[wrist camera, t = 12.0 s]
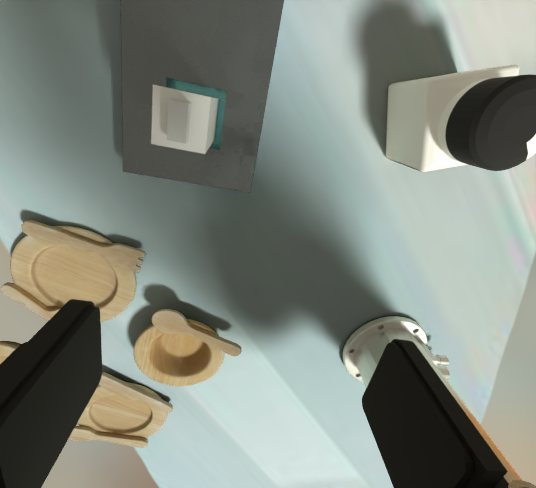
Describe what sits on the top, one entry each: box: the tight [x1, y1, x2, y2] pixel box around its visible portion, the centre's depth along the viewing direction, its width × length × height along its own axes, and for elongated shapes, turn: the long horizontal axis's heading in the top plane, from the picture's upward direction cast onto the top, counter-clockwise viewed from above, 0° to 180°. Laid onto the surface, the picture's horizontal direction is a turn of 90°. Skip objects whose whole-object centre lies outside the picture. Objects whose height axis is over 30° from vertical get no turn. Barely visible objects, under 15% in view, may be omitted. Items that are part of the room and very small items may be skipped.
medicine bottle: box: [386, 65, 536, 172], centre depth 24 cm, size 7×7×12 cm
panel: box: [121, 0, 284, 193], centre depth 24 cm, size 12×24×2 cm, turn 169°
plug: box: [151, 85, 219, 154], centre depth 23 cm, size 4×4×10 cm
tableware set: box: [0, 220, 241, 448], centre depth 38 cm, size 35×29×4 cm
